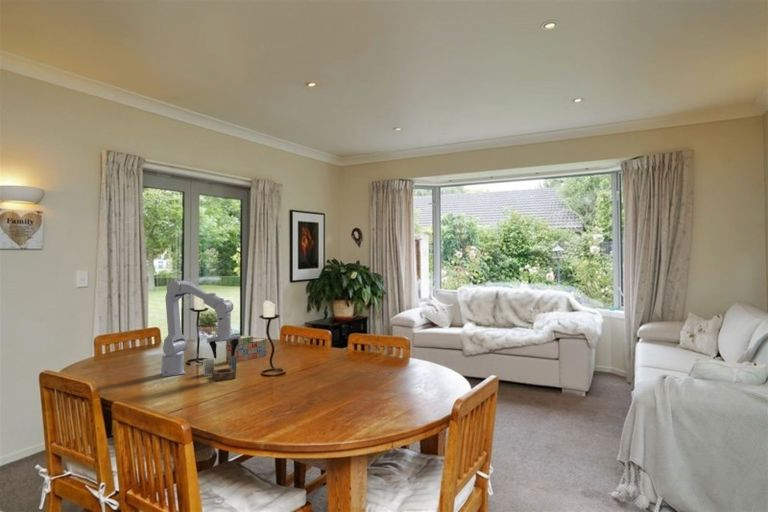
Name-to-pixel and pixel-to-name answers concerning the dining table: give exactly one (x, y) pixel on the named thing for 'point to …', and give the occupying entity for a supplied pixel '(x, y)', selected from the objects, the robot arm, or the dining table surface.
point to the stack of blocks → (247, 348)
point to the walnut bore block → (223, 374)
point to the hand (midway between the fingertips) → (223, 356)
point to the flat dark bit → (232, 362)
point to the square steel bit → (208, 366)
